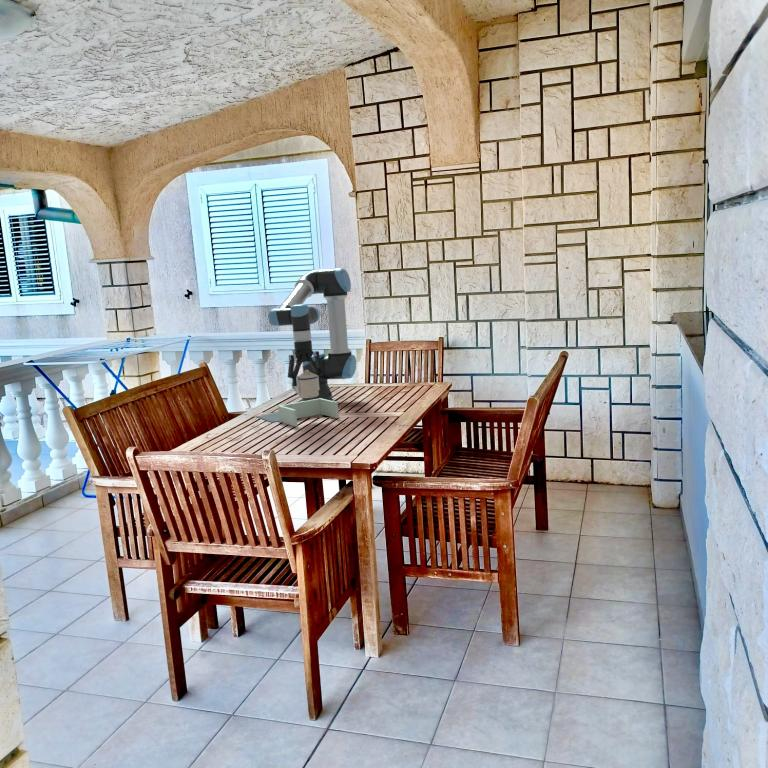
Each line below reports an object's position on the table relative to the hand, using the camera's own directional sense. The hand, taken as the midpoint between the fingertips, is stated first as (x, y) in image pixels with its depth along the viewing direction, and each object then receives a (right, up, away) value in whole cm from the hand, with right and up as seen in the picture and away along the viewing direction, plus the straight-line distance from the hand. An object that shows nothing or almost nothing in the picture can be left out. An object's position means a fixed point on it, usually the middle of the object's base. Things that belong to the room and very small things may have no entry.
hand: (307, 391), depth 322 cm
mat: (-13, -12, +14) cm, 22 cm away
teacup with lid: (-1, -2, 0) cm, 2 cm away
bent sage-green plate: (+1, -13, +2) cm, 13 cm away
